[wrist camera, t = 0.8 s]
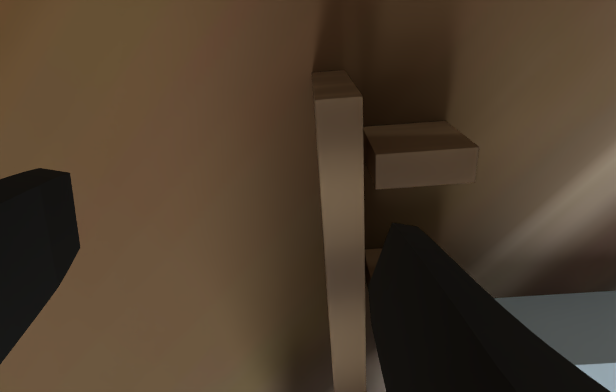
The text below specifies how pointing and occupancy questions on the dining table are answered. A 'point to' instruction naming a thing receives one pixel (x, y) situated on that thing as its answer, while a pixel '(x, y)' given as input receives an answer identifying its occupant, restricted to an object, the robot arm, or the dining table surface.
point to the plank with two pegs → (350, 200)
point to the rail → (574, 328)
